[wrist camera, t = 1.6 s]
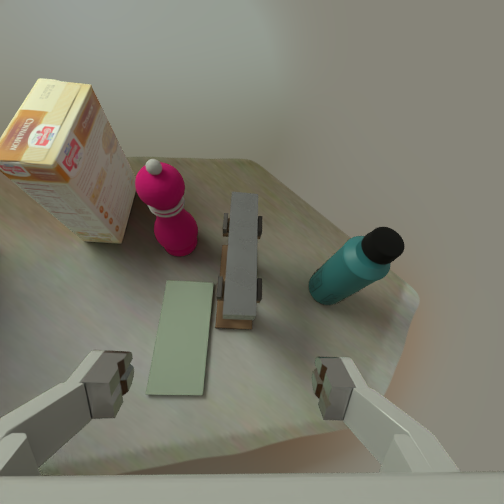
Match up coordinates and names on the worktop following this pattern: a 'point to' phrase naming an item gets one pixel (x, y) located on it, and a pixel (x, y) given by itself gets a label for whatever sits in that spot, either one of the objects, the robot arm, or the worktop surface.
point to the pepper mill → (167, 207)
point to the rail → (241, 258)
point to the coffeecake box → (70, 160)
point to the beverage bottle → (356, 265)
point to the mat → (181, 340)
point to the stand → (221, 284)
